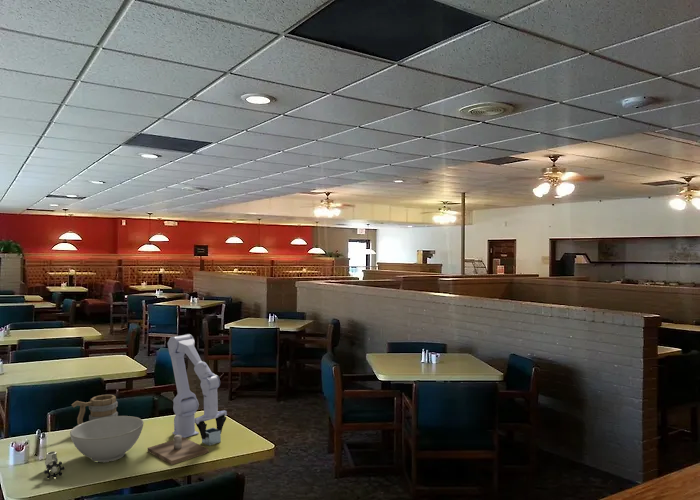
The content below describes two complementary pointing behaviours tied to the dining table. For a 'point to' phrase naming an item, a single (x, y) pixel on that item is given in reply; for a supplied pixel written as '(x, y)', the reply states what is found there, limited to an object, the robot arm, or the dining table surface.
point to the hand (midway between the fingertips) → (211, 436)
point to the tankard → (98, 407)
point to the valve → (52, 464)
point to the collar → (212, 436)
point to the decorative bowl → (107, 437)
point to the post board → (177, 450)
